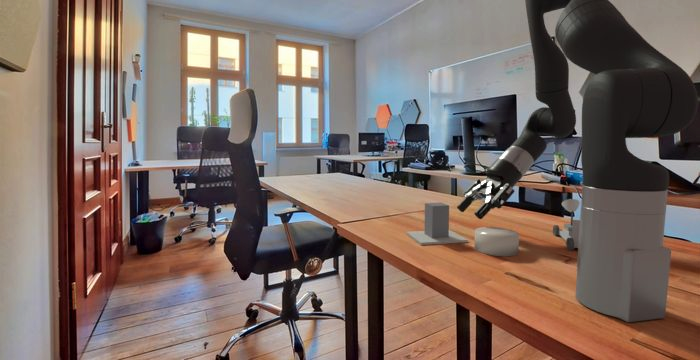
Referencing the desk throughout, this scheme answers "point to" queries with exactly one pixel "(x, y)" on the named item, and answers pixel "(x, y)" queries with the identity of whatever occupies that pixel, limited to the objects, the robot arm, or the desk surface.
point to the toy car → (569, 226)
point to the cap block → (436, 220)
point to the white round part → (496, 241)
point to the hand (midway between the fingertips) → (467, 213)
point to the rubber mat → (426, 240)
